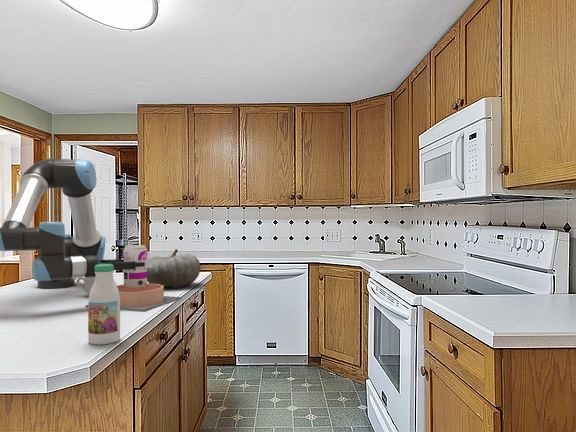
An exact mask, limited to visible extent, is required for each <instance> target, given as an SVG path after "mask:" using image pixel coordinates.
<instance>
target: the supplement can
mask: <svg viewBox="0 0 576 432" xmlns="http://www.w3.org/2000/svg"><path fill="white" fill-rule="evenodd" d="M123 257H124V262H133V261H140V260H147V259H148V249H147V247H146V245H144V244H142V245H141V244H135V245H134V244H130V245H125V247H124V249H123ZM147 283H148V282H147V268H136V271H134V269H127V270H123V285H124V286H125V287H128V288H138V287H144V286H145V285H146V284H147Z"/></svg>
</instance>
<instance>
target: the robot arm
mask: <svg viewBox="0 0 576 432" xmlns="http://www.w3.org/2000/svg"><path fill="white" fill-rule="evenodd" d="M96 186H97V172H96V169H95V166H94V164H93V162H91V161H90V160H89V159H82V158H77V159H68V158H64V159H63V158H61V159H60V158H46V159H42V160H39V161H38V162H36V163H34V164H32V165H31V166H30V167H29V168H27V169H26V170H25V171H24V172H23V173H22V175H21V177H20V180H19V189H18V192H17V193H16V196H15V197H14V200H13V203H12V204H11V206H10V208H9V211H8V213H7V214H6V217H5V219H4V222H3V223H2V225H1V227H0V252H15V251H39V257H36V258H33V260H32V263H31V264H32V265H31V273H32V274H31V275H32V278H33V280H35V281H37V288H39V289H46V290H47V289H50V290H51V289H62V288H69V287H74V286H75V285H76V281H77V279H78V278H83V277H84V278H85V277H95V276H96V274H95V265H99V264H113V265H114V270H113V272H114V271H124V270H127V269H134V271H136V268H149V267H153V260H140V261H133V262H124V256H123V257H122V258H115V259H104V258H105V256H104V255H105V249H106V242H107V241H106V237H105V236H104V235H101V233H100V231H98V230H97V228H96V220H95V215H94V208H93V202H92V195H91V193H93V190H94V189H95V188H96ZM49 189H61V190H62V193H63V195H64V196H65V197H67V200H68V204H69V209H70V213H71V219H72V224H73V229H74V232H75V233H74V235H73V236H72V235H71V234H70V233H66V230H65V227H66V226H65V223H64V222H63V221H40V223H39V226H38V227H30V224H31V222H32V221H33V218H34V215H35V212H36V211H37V208H38V205H39V203H40V200H41V198H42V197H43V194H45V193H47V191H48V190H49Z"/></svg>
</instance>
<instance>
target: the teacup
mask: <svg viewBox="0 0 576 432" xmlns="http://www.w3.org/2000/svg"><path fill="white" fill-rule="evenodd" d="M95 278H96V276H95V277H83V278H76V280H75V284H76V286H77V287H79V288H80V289H82V290H83V292H85V294H87V295H88V296H89V294H90V291H91V288H92V286H93V284H94V281H95ZM81 280H82V281H83V283H84V286H83V285H82V284H81V283H80V281H81Z"/></svg>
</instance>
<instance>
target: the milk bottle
mask: <svg viewBox="0 0 576 432" xmlns="http://www.w3.org/2000/svg"><path fill="white" fill-rule="evenodd" d="M113 270H114V265H113V264H99V265H95V274H96V278H95V281H94V284H93V286H92V288H91V291H90V294H89V295H88V304H87V305H88V307H87V309H88V310H87V313H88V314H87V317H88V318H87V319H88V320H87V322H88V323H87V324H88V325H87V326H88V327H87V329H88V330H87V332H88V335H87V337H88V338H87V339H88V340H87V341H88V343H89V344H91V345H95V346H97V345H99V346H100V345H101V346H103V345H109V344H114V343H117V342H119V341H120V339H121V310H120V295H119V291H118V288H117V286H116V285H117V284H116V282H115V279H114V273H115V272H114V271H115V270H114V271H113Z"/></svg>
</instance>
